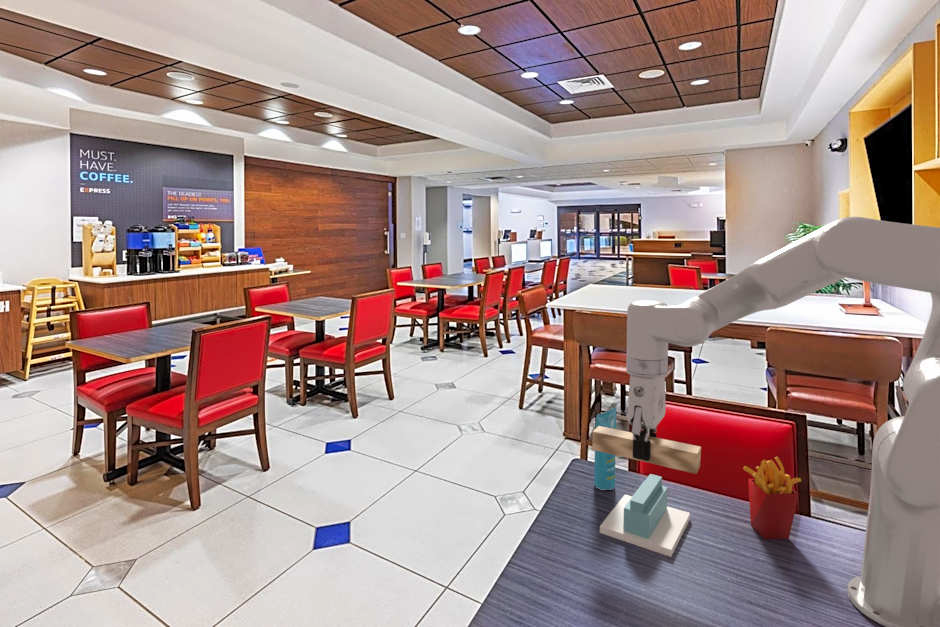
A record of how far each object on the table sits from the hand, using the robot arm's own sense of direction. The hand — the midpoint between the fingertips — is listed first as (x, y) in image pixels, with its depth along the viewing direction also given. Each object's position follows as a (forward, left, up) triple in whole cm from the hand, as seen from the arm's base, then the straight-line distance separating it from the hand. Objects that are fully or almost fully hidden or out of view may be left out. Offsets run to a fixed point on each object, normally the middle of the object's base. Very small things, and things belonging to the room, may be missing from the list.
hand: (644, 453), depth 100 cm
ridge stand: (0, -3, -17) cm, 17 cm away
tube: (+13, -14, -17) cm, 26 cm away
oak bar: (0, 0, -1) cm, 1 cm away
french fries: (-20, -15, -17) cm, 30 cm away
